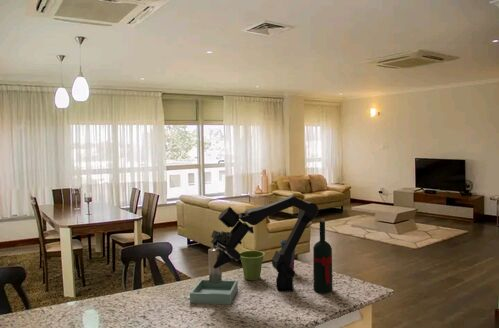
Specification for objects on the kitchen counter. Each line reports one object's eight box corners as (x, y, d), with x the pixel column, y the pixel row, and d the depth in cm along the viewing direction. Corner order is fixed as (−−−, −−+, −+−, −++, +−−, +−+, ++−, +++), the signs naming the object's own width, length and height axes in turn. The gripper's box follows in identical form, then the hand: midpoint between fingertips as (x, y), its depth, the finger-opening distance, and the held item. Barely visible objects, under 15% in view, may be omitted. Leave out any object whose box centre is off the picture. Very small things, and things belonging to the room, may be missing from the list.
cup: (294, 274, 188) (294, 243, 188) (280, 274, 190) (280, 242, 189) (296, 270, 195) (295, 239, 194) (282, 269, 196) (281, 239, 196)
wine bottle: (319, 296, 161) (318, 222, 160) (310, 287, 171) (309, 217, 170) (338, 294, 163) (337, 221, 162) (328, 286, 173) (327, 216, 171)
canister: (222, 279, 163) (221, 248, 162) (220, 284, 158) (219, 251, 157) (210, 279, 164) (209, 247, 163) (207, 283, 159) (206, 251, 158)
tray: (237, 289, 171) (237, 280, 170) (230, 304, 155) (229, 294, 155) (201, 288, 173) (200, 279, 173) (189, 302, 157) (189, 293, 157)
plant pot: (233, 278, 185) (233, 254, 185) (252, 272, 193) (252, 249, 193) (251, 284, 177) (251, 259, 176) (270, 278, 185) (270, 253, 184)
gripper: (214, 219, 170) (190, 248, 165) (232, 226, 153) (205, 259, 149) (232, 235, 174) (208, 264, 169) (251, 244, 157) (226, 277, 153)
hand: (211, 266), depth 160 cm, fingers closed on canister, 5 cm apart
